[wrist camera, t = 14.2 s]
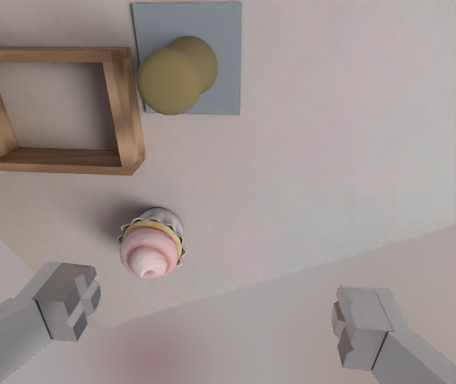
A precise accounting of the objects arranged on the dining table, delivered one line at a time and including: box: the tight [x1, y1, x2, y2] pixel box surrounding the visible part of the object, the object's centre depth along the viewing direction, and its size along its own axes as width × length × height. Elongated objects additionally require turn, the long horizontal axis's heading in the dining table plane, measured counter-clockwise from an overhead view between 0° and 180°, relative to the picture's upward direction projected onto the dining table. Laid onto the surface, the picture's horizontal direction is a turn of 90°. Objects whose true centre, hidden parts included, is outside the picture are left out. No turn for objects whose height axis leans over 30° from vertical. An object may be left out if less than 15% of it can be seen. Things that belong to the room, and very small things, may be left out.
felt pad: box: [132, 3, 242, 115], centre depth 33 cm, size 11×11×1 cm
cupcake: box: [116, 208, 187, 278], centre depth 40 cm, size 9×9×10 cm
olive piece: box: [137, 36, 218, 115], centre depth 28 cm, size 6×6×11 cm
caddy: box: [0, 47, 146, 176], centre depth 35 cm, size 13×18×5 cm
